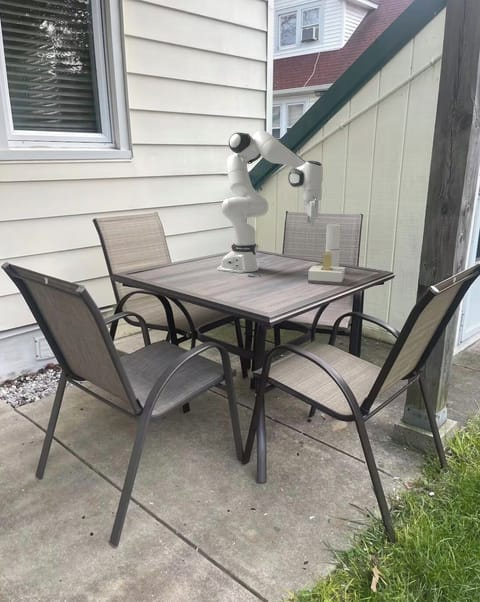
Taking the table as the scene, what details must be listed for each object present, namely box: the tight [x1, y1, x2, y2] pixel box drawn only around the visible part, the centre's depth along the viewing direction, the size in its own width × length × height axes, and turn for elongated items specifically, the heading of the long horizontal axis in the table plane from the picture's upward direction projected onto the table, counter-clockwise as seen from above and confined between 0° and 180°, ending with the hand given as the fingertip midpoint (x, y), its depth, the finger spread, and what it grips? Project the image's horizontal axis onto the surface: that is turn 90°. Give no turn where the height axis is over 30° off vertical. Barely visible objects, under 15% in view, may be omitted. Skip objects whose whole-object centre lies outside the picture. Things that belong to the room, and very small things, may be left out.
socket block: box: [307, 264, 346, 286], centre depth 235 cm, size 16×13×6 cm
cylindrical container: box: [325, 223, 342, 267], centre depth 251 cm, size 7×7×25 cm
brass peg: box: [322, 252, 332, 270], centre depth 234 cm, size 4×4×12 cm
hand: (310, 224), depth 236 cm, fingers open, 8 cm apart
